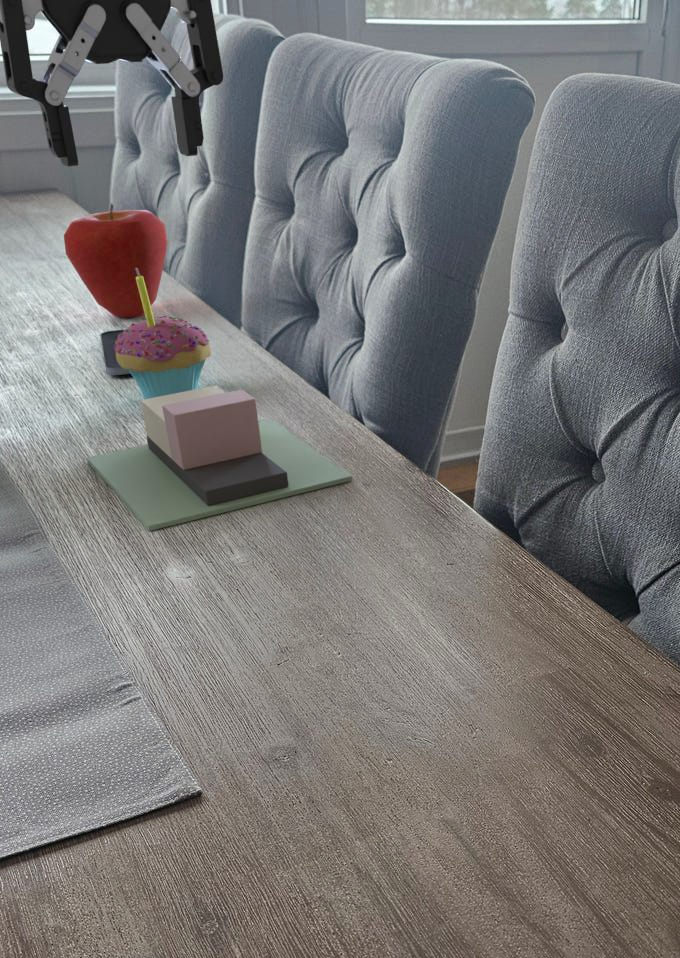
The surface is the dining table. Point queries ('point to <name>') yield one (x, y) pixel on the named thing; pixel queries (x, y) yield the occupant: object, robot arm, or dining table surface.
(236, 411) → the blocks on dark base
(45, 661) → the dining table surface
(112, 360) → the smartphone
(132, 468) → the mat
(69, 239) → the apple
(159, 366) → the cupcake
